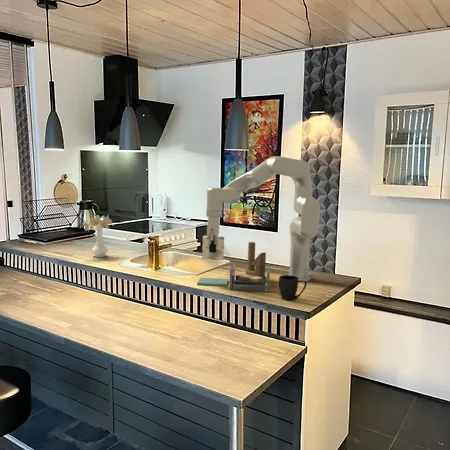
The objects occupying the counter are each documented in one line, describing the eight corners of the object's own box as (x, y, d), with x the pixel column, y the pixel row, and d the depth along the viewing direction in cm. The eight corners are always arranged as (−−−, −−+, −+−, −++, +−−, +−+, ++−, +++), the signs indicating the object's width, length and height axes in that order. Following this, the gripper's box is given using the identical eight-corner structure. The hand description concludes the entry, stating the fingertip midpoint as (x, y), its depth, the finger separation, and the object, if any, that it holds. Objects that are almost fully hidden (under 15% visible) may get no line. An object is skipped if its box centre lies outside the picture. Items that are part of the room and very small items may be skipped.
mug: (302, 304, 186) (303, 282, 185) (275, 299, 192) (276, 278, 191) (308, 299, 193) (309, 278, 192) (282, 294, 199) (283, 274, 198)
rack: (269, 281, 221) (269, 263, 220) (268, 292, 203) (269, 272, 202) (232, 279, 223) (233, 262, 221) (229, 290, 205) (230, 270, 203)
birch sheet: (223, 259, 215) (224, 236, 214) (222, 260, 213) (223, 237, 211) (202, 258, 216) (203, 235, 214) (202, 259, 213) (202, 236, 212)
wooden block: (259, 281, 222) (261, 245, 219) (245, 276, 230) (246, 242, 227) (265, 279, 224) (266, 244, 221) (250, 275, 232) (251, 241, 230)
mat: (228, 280, 220) (228, 278, 220) (226, 286, 210) (226, 284, 210) (200, 279, 222) (200, 277, 221) (197, 284, 212) (197, 282, 212)
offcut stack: (263, 285, 215) (263, 277, 214) (258, 287, 211) (259, 279, 210) (241, 281, 221) (242, 273, 221) (236, 283, 217) (237, 275, 216)
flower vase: (79, 257, 265) (78, 215, 262) (104, 252, 280) (104, 213, 276) (93, 260, 257) (92, 217, 254) (118, 255, 272) (118, 215, 269)
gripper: (208, 211, 220) (207, 248, 222) (204, 215, 204) (202, 254, 206) (223, 212, 219) (222, 249, 221) (220, 215, 203) (218, 255, 205)
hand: (213, 251), depth 214 cm, fingers closed on birch sheet, 2 cm apart
